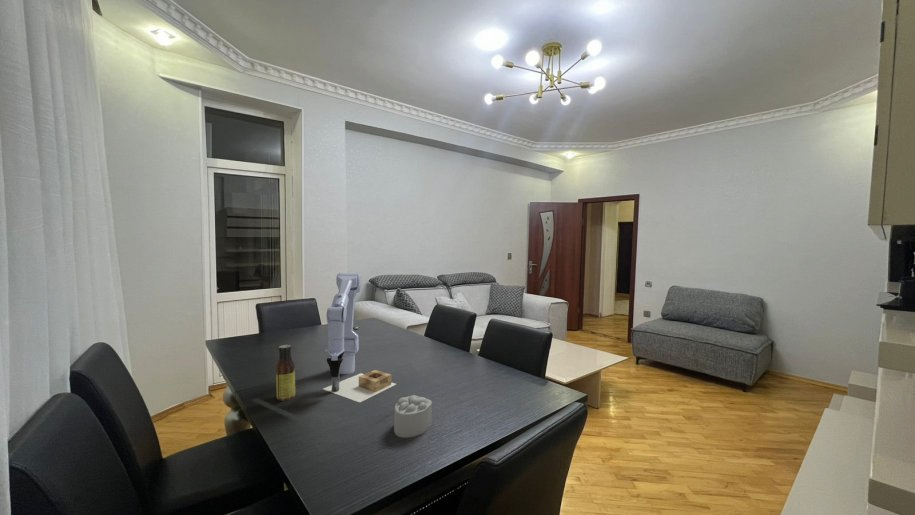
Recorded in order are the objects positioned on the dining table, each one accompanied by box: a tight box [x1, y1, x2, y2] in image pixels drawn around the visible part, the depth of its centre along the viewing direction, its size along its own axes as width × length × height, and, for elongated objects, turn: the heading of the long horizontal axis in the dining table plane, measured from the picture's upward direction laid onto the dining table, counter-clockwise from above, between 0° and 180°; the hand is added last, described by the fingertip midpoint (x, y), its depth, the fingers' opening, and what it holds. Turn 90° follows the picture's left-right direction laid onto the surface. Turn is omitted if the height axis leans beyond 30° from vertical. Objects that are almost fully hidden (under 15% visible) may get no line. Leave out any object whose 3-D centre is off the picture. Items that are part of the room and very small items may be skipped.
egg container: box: [393, 394, 433, 438], centre depth 115 cm, size 10×13×9 cm
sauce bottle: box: [275, 344, 296, 402], centre depth 131 cm, size 7×6×20 cm
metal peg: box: [331, 369, 341, 393], centre depth 138 cm, size 3×3×8 cm
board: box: [322, 373, 397, 403], centre depth 142 cm, size 20×20×1 cm
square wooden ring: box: [359, 369, 392, 392], centre depth 144 cm, size 9×9×4 cm
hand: (335, 373), depth 138 cm, fingers open, 7 cm apart
